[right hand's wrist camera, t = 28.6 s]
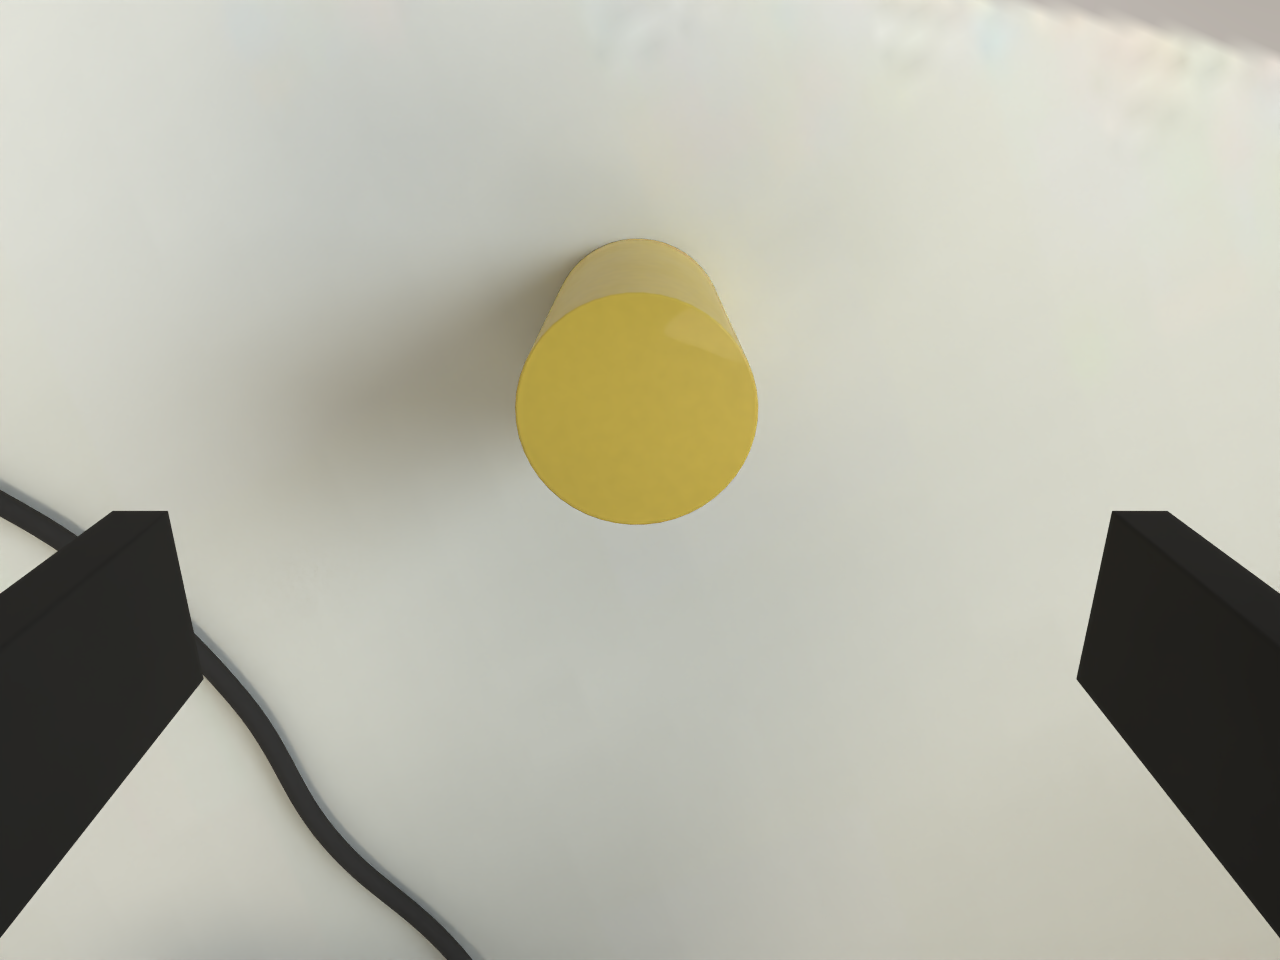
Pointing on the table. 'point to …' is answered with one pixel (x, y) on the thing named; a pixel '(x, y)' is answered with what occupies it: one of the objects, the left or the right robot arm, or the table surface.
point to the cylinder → (636, 388)
